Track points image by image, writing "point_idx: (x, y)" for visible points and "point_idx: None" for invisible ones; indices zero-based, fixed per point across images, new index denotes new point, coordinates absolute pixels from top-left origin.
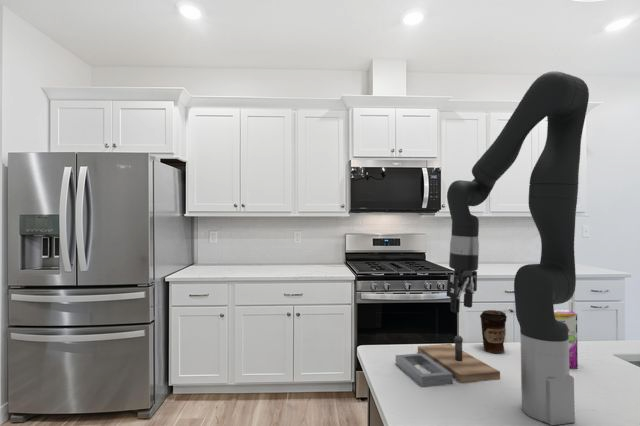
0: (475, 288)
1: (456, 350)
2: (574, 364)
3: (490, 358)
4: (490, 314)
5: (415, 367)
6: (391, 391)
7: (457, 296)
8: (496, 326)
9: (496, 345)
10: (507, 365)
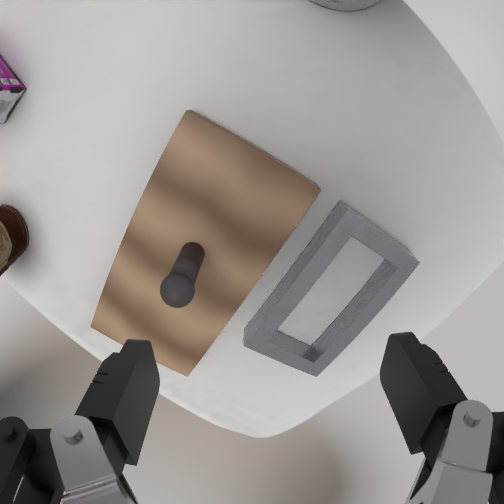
0: (12, 444)
1: (198, 272)
2: None
3: (59, 208)
4: None
5: (369, 305)
6: (458, 283)
7: (488, 423)
8: None
9: (6, 222)
10: (69, 148)
